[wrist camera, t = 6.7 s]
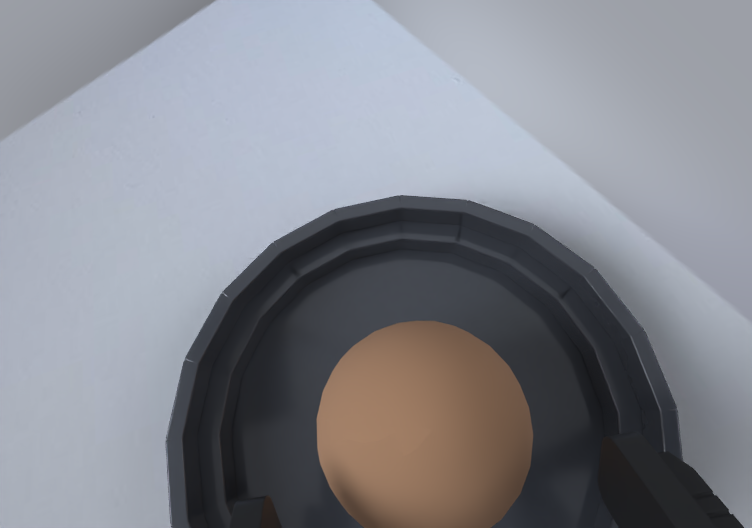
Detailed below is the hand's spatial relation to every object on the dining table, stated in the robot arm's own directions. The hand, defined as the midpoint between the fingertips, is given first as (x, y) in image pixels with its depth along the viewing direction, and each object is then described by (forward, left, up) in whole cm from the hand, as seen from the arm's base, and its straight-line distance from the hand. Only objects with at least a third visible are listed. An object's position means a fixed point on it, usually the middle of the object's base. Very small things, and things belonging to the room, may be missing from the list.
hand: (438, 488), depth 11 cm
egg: (-1, -1, -7) cm, 7 cm away
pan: (-1, -1, -7) cm, 7 cm away
